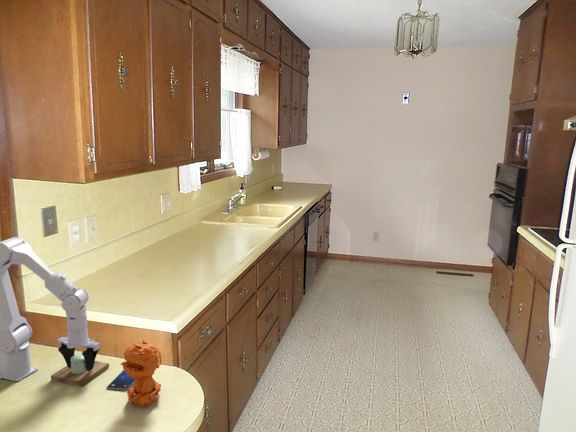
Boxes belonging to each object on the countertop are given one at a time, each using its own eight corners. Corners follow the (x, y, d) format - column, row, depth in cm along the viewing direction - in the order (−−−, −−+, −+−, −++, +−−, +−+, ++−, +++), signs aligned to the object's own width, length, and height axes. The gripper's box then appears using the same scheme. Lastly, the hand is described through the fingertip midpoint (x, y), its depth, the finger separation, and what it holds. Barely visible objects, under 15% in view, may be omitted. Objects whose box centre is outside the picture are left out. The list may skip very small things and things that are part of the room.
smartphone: (104, 388, 133) (128, 363, 148) (104, 391, 134) (129, 366, 148) (127, 389, 132) (149, 364, 147) (127, 392, 133) (150, 367, 147)
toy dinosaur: (122, 394, 131) (118, 337, 128) (160, 386, 135) (157, 331, 132) (124, 415, 121) (120, 353, 118) (165, 406, 125) (162, 346, 122)
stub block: (51, 380, 138) (50, 367, 138) (79, 362, 150) (78, 349, 149) (82, 386, 135) (81, 372, 134) (109, 367, 146) (108, 354, 146)
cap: (67, 372, 140) (66, 359, 140) (79, 364, 145) (78, 352, 144) (80, 374, 139) (79, 362, 138) (92, 367, 144) (91, 355, 143)
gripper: (48, 330, 138) (52, 370, 140) (87, 335, 134) (90, 377, 136) (66, 321, 145) (69, 360, 147) (103, 326, 141) (106, 366, 143)
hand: (80, 367), depth 142 cm, fingers open, 7 cm apart
